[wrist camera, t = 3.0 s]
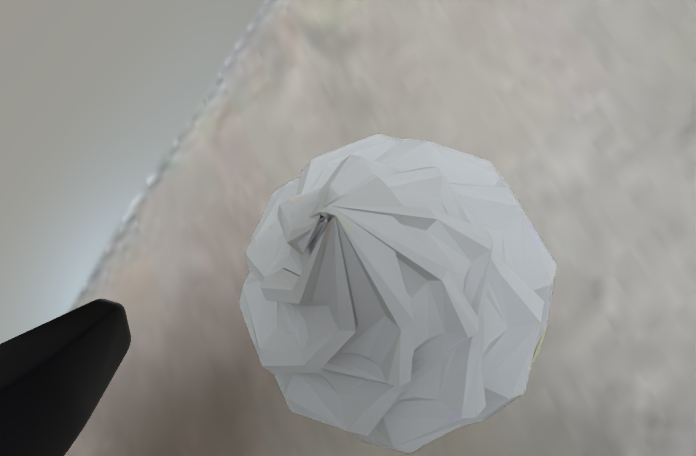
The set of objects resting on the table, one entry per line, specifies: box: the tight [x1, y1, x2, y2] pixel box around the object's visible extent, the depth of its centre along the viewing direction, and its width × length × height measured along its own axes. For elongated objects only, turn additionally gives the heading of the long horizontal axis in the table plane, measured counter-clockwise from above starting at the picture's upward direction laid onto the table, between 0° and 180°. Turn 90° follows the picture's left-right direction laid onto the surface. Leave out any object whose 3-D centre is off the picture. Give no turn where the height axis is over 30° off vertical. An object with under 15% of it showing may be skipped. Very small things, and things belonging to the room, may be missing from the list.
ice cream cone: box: [239, 133, 557, 454], centre depth 11 cm, size 5×5×15 cm
